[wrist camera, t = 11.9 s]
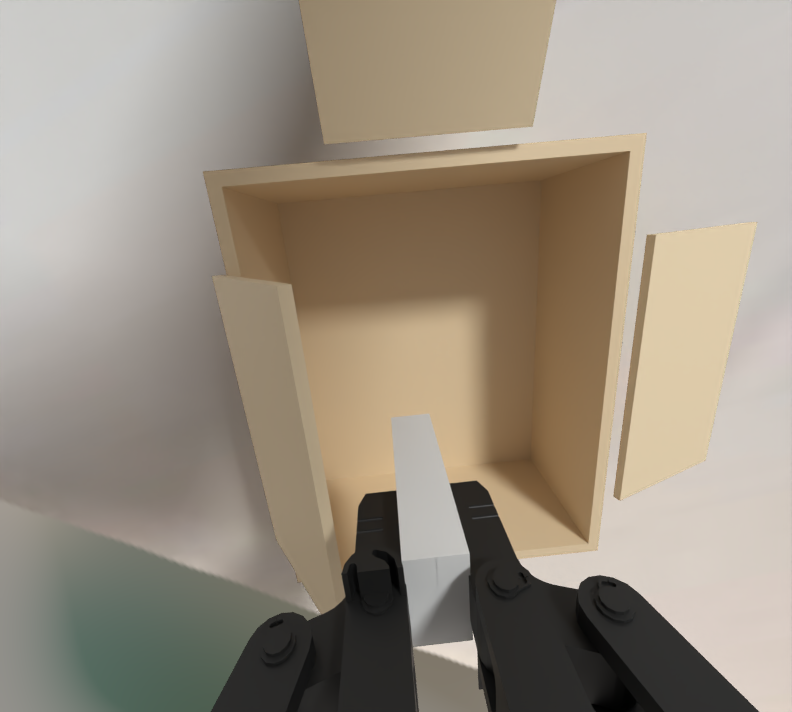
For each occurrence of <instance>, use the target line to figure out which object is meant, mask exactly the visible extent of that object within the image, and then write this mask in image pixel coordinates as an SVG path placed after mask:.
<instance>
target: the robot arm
mask: <svg viewBox="0 0 792 712" xmlns="http://www.w3.org/2000/svg"><path fill="white" fill-rule="evenodd" d="M391 424H392V437H393V451H394V465H395V478H396V490H395V491H386V492H377V493H367V494H365V496H364V497H363V499H362V501H361V502H360V504H359V506H358V516H357V530H356V532H357V534H356V544H355V553H354V554H352V555H351V556H350V558H349V559H348V560H347V561H346V563H345V564H344V567H343V570H342V573H341V575H342V581H343V586H344V591H345V598H344V599H343V600H342V601H341V602H340V603H339V604H338V605H337V606H336V607H335V608H333V609H331V610H329V611H328V612H326V613H324V614H322V615H319V616H317V617H315V618H313V619H311V620H309V621H307V620H306V619H305V618H304V617H303V616H301V615H299V614H296V613H294V612H292V613H281V614H279V615H276V616H274V617H272V618H269V619H268V620H267V621H266V622H265V623H263V624H262V625H261V626H260V627H258V628H257V630H256V631H255V633H254V634H253V635H252V637H251V638H250V640H249V641H248V643H247V645H246V647H245V649H244V651H243V653H242V654H241V656H240V658H239V660H238V662H237V664H236V666H235V668H234V669H233V671H232V673H231V675H230V677H229V679H228V681H227V683H226V685H225V686H224V688H223V690H222V692H221V694H220V696H219V698H218V699H217V701H216V703H215V705H214V707H213V709H212V711H211V712H419V708H418V698H417V687H416V675H415V666H414V657H413V647H417V646H426V645H434V644H443V643H451V642H460V641H469V640H473V634H474V638H475V642H476V646H477V652H478V681H479V689H483V690H484V695H485V699H486V703H487V708H488V712H759V711H758V710H757V709H756V708H755V707H754V706H753V705H752V704H751V703H750V702H749V701H748V700H747V699H746V698H745V697H744V696H743V695H742V694H741V693H740V692H739V691H738V690H737V689H735V688H734V687H733V686H732V685H731V684H730V683H729V682H728V681H727V680H726V679H725V678H724V677H723V676H722V675H721V674H720V673H719V672H718V671H717V670H716V669H715V668H714V667H713V666H712V665H711V664H710V663H709V662H708V661H707V660H706V659H705V658H704V657H703V656H702V655H701V654H700V653H699V652H698V651H697V650H696V649H695V648H694V647H693V646H692V645H691V644H690V643H689V642H688V641H687V640H686V639H685V638H684V637H683V636H682V635H681V634H680V633H679V632H678V631H677V630H676V629H675V628H674V627H673V626H672V625H671V624H670V623H669V622H668V621H667V620H666V619H665V618H664V617H663V616H662V615H661V614H660V613H658V612H657V611H656V610H655V609H654V608H653V607H652V606H651V605H650V604H649V603H648V602H647V601H646V600H645V599H644V598H643V597H642V596H641V595H640V594H639V593H638V592H637V591H635V590H634V589H633V588H631V587H630V586H629V585H628V584H626V583H624V582H621V581H619V580H617V579H615V578H612V577H606V576H601V575H599V576H593V577H588V578H587V579H585V580H584V581H583V582H581V583H580V586H579V589H573V588H567V587H562V586H557V585H553V584H549V583H546V582H543V581H541V580H539V579H537V578H535V577H534V576H532V575H531V574H530V572H529V571H528V570H527V569H525V568H524V567H523V566H522V565H521V564H520V562H519V560H518V559H517V557H516V554H515V552H514V550H513V547H512V545H511V543H510V540H509V538H508V536H507V533H506V531H505V529H504V527H503V524H502V522H501V520H500V517H499V516H498V513H497V510H496V508H495V506H494V503H493V501H492V499H491V496H490V494H489V492H488V490H487V489H486V488H485V487H483V486H482V485H481V484H480V483H479V482H478V481H477V480H476V481H467V482H458V483H449V480H448V477H447V473H446V470H445V466H444V463H443V459H442V456H441V452H440V449H439V445H438V442H437V439H436V435H435V432H434V428H433V425H432V421H431V418H430V414H420V415H411V416H401V417H392V418H391ZM472 630H473V632H472Z"/></svg>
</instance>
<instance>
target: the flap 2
mask: <svg viewBox="0 0 792 712" xmlns="http://www.w3.org/2000/svg"><path fill="white" fill-rule="evenodd" d="M555 4H556V0H299V5H300V11H301V16H302V22H303V28H304V33H305V39H306V45H307V50H308V56H309V62H310V67H311V73H312V79H313V84H314V90H315V96H316V101H317V107H318V113H319V118H320V124H321V130H322V135H323V141H324V144H335V143H347V142H359V141H370V140H382V139H394V138H405V137H417V136H428V135H440V134H452V133H463V132H475V131H486V130H498V129H510V128H521V127H533V122H534V116H535V111H536V106H537V100H538V95H539V90H540V84H541V79H542V73H543V68H544V63H545V57H546V52H547V47H548V41H549V36H550V30H551V25H552V20H553V14H554V9H555Z"/></svg>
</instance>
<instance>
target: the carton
mask: <svg viewBox="0 0 792 712" xmlns="http://www.w3.org/2000/svg"><path fill="white" fill-rule="evenodd" d="M646 135H647V133H641V134H629V135H618V136H606V137H595V138H583V139H572V140H560V141H549V142H537V143H526V144H514V145H503V146H491V147H480V148H468V149H457V150H445V151H434V152H422V153H411V154H399V155H388V156H377V157H365V158H354V159H342V160H331V161H319V162H308V163H296V164H285V165H273V166H262V167H250V168H239V169H227V170H216V171H204V172H203V174H204V179H205V183H206V187H207V192H208V196H209V200H210V205H211V209H212V213H213V218H214V222H215V226H216V231H217V235H218V239H219V244H220V248H221V252H222V257H223V261H224V265H225V270H226V274H227V275H228V276H235V277H243V278H250V279H257V280H265V281H272V282H280V283H287V284H291V285H292V290H293V296H294V302H295V307H296V313H297V319H298V324H299V330H300V336H301V341H302V347H303V353H304V358H305V364H306V370H307V375H308V381H309V387H310V392H311V398H312V404H313V409H314V415H315V421H316V426H317V432H318V438H319V443H320V449H321V455H322V460H323V466H324V472H325V477H326V483H327V489H328V494H329V500H330V506H331V511H332V517H333V523H334V528H335V534H336V540H337V545H338V551H339V557H340V562H341V568H342V570H343V567H344V564H345V563H346V561H347V560H348V559H349V558H350V556H351V555H352V554H354V553H355V544H356V534H357V532H356V530H357V516H358V506H359V504H360V502H361V501H362V499H363V497H364V496H365V494H367V493H377V492H386V491H395V490H396V478H395V465H394V451H393V437H392V424H391V418H392V417H401V416H411V415H420V414H430V418H431V421H432V425H433V428H434V432H435V435H436V439H437V442H438V445H439V449H440V452H441V456H442V459H443V463H444V466H445V470H446V473H447V477H448V480H449V483H458V482H467V481H476V480H477V481H478V482H479V483H480V484H481V485H482V486H483V487H485V488H486V489H487V490H488V492H489V494H490V496H491V499H492V501H493V503H494V506H495V508H496V510H497V513H498V516H499V517H500V520H501V522H502V524H503V527H504V529H505V531H506V533H507V536H508V538H509V540H510V543H511V545H512V547H513V550H514V552H515V554H516V557H517V559H522V558H531V557H541V556H550V555H559V554H568V553H578V552H587V551H596V550H598V541H599V533H600V525H601V516H602V508H603V499H604V491H605V482H606V474H607V465H608V457H609V448H610V440H611V431H612V423H613V414H614V406H615V397H616V389H617V380H618V372H619V363H620V355H621V347H622V338H623V330H624V321H625V313H626V304H627V296H628V287H629V279H630V270H631V262H632V253H633V245H634V236H635V228H636V219H637V211H638V202H639V194H640V186H641V177H642V169H643V160H644V152H645V143H646ZM295 573H296V572H295ZM296 577H297V581H298V583H299V582H301V580H300V578H299V577H298V575H297V574H296Z"/></svg>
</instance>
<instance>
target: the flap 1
mask: <svg viewBox="0 0 792 712" xmlns="http://www.w3.org/2000/svg"><path fill="white" fill-rule="evenodd" d="M212 279H213V283H214V287H215V291H216V295H217V299H218V304H219V308H220V312H221V316H222V320H223V324H224V328H225V332H226V336H227V340H228V344H229V349H230V353H231V357H232V361H233V365H234V369H235V373H236V377H237V381H238V385H239V390H240V394H241V398H242V402H243V406H244V410H245V414H246V418H247V422H248V426H249V430H250V435H251V439H252V443H253V447H254V451H255V455H256V459H257V463H258V467H259V471H260V476H261V480H262V484H263V488H264V492H265V496H266V500H267V504H268V508H269V512H270V516H271V521H272V525H273V529H274V533H275V537H276V540H277V542H278V544H279V545H280V547H281V549H282V550H283V552H284V554H285V555H286V557H287V559H288V560H289V562H290V564H291V565H292V567H293V569H294V570H295V572H296V574H297V575H298V577H299V578H300V580H301V582H302V583H303V585H304V587H305V588H306V590H307V592H308V593H309V595H310V597H311V598H312V600H313V602H314V603H315V605H316V607H317V608H318V610H319V612H320V613H321V615H322V614H324V613H326V612H328V611H329V610H331V609H333V608H335V607H336V606H337V605H338V604H339V603H340V602H341V601H342V600H343V599H344V598H345V591H344V586H343V581H342V575H341V573H342V568H341V562H340V557H339V551H338V545H337V540H336V534H335V528H334V523H333V517H332V511H331V506H330V500H329V494H328V489H327V483H326V477H325V472H324V466H323V460H322V455H321V449H320V443H319V438H318V432H317V426H316V421H315V415H314V409H313V404H312V398H311V392H310V387H309V381H308V375H307V370H306V364H305V358H304V353H303V347H302V341H301V336H300V330H299V324H298V319H297V313H296V307H295V302H294V296H293V290H292V285H291V284H287V283H280V282H272V281H265V280H257V279H250V278H243V277H235V276H228V275H216V276H212Z"/></svg>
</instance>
